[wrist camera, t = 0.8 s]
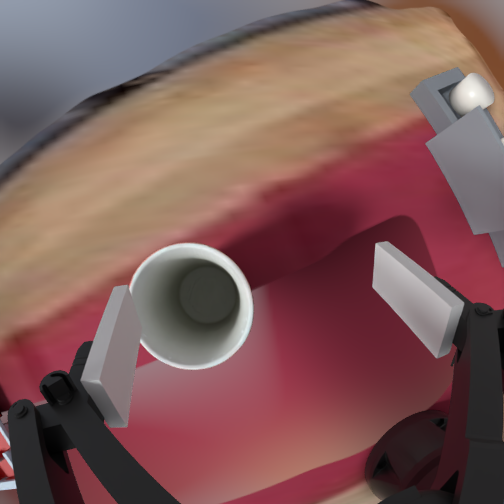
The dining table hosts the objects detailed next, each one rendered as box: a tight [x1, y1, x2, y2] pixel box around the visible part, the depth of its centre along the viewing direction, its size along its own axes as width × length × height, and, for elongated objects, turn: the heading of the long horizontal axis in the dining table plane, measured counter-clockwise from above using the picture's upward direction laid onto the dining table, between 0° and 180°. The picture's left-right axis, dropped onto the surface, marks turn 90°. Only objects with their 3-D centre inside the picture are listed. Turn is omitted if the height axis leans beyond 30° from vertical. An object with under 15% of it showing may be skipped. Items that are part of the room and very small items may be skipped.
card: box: [425, 105, 504, 235], centre depth 30 cm, size 14×1×12 cm, turn 31°
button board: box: [410, 67, 504, 267], centre depth 35 cm, size 28×9×4 cm, turn 31°
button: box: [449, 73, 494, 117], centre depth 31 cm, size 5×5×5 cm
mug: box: [129, 242, 254, 370], centre depth 28 cm, size 13×9×14 cm
